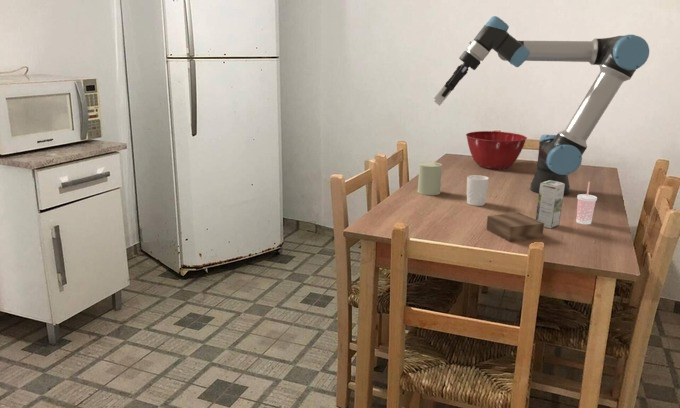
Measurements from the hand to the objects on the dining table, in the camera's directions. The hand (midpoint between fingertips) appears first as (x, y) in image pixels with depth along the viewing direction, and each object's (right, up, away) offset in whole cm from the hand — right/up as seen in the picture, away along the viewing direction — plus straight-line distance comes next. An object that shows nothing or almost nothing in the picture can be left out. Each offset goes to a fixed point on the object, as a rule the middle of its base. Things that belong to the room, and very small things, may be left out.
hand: (436, 102), depth 212 cm
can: (-1, -35, +10) cm, 36 cm away
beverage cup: (+45, -45, -26) cm, 69 cm away
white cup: (+14, -39, -5) cm, 42 cm away
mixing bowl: (+39, -21, +61) cm, 75 cm away
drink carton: (+31, -46, -30) cm, 63 cm away
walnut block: (+17, -49, -38) cm, 64 cm away
